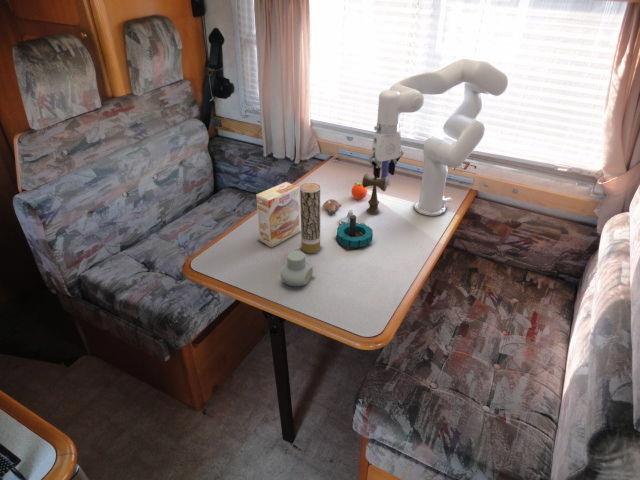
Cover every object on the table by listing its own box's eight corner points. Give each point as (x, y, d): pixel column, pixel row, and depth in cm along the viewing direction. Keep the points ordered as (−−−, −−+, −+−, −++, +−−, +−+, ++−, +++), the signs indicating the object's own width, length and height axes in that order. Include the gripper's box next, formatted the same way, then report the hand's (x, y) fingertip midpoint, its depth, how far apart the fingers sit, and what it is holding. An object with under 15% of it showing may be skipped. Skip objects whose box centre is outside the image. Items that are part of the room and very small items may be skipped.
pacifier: (335, 224, 177) (348, 228, 174) (335, 210, 174) (349, 214, 171) (345, 217, 182) (358, 220, 179) (345, 203, 179) (358, 207, 176)
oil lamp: (317, 213, 187) (333, 219, 183) (316, 205, 184) (332, 211, 180) (330, 202, 192) (345, 208, 188) (329, 195, 190) (345, 200, 186)
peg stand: (356, 233, 172) (357, 209, 166) (368, 244, 165) (370, 219, 159) (335, 238, 168) (336, 214, 163) (347, 250, 162) (348, 225, 156)
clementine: (347, 195, 199) (347, 181, 195) (361, 192, 201) (361, 178, 197) (355, 203, 193) (356, 188, 189) (369, 200, 195) (370, 185, 191)
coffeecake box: (271, 247, 163) (268, 200, 152) (259, 240, 167) (254, 194, 157) (300, 232, 172) (299, 186, 162) (287, 225, 176) (285, 180, 166)
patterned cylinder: (306, 256, 158) (305, 192, 145) (298, 246, 164) (296, 184, 150) (323, 251, 161) (323, 188, 148) (315, 242, 166) (314, 181, 153)
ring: (360, 225, 174) (361, 219, 172) (378, 241, 164) (379, 235, 162) (330, 233, 169) (330, 227, 167) (347, 250, 159) (347, 244, 157)
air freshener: (292, 268, 152) (291, 244, 147) (315, 274, 149) (314, 249, 144) (278, 286, 144) (276, 261, 138) (301, 293, 141) (300, 267, 136)
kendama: (382, 217, 182) (386, 172, 171) (359, 213, 185) (362, 168, 174) (386, 210, 187) (389, 166, 176) (364, 207, 190) (366, 163, 179)
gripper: (372, 134, 150) (369, 183, 160) (414, 127, 156) (408, 174, 166) (361, 128, 156) (358, 175, 165) (401, 121, 162) (397, 167, 172)
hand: (383, 174), depth 166 cm, fingers open, 5 cm apart
